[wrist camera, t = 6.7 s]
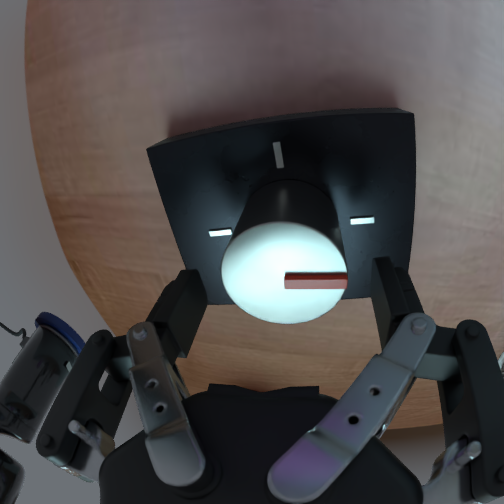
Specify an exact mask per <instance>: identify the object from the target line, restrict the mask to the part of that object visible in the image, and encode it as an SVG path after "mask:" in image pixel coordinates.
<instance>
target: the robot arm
mask: <svg viewBox="0 0 504 504" xmlns="http://www.w3.org/2000/svg"><path fill="white" fill-rule="evenodd" d="M371 299H372V304H373V308H374V313H375V317H376V322H377V327H378V332H379V337H380V343H381V348H382V352H381V353H380V354H379V355H378V354H375V355H374V356H373V357H372V359H371V360H370V361H369V363H368V364H367V365H366V367H365V368H364V369H363V371H362V372H361V373H360V375H359V376H358V377H357V378H356V380H355V381H354V382H353V383H352V385H351V386H350V387H349V388H348V390H347V391H346V392H345V393H344V395H343V396H342V397H341V398H340V399H339V400H337V399H335V398H333V397H330V396H327V395H323V394H319V386H304V387H287V388H282V389H278V390H273V391H268V392H257V391H253V390H249V389H246V388H242V387H239V386H236V385H223V384H209V387H208V390H207V391H204V392H200V393H197V394H194V395H192V396H191V395H190V393H189V391H188V389H187V387H186V385H185V382H184V380H183V378H182V375H181V373H180V371H179V369H178V366H177V364H176V363H175V361H176V359H177V357H180V358H187V355H188V353H189V350H190V348H191V345H192V343H193V340H194V337H195V335H196V332H197V330H198V327H199V325H200V322H201V320H202V317H203V315H204V312H205V310H206V307H207V303H208V298H207V293H206V290H205V287H204V285H203V282H202V279H201V276H200V273H199V271H198V270H197V269H189V270H181V271H180V273H179V274H178V276H177V278H176V280H173V281H171V282H170V283H169V284H168V285H167V286H166V287H165V288H164V290H163V292H162V293H161V296H160V297H159V298H158V300H157V302H156V303H155V305H154V307H153V309H152V310H151V312H150V314H149V316H148V317H147V319H146V321H145V322H140V323H137V324H135V325H134V326H132V327H131V328H130V329H129V331H128V332H127V335H123V336H118V337H113V336H112V334H111V333H110V332H109V331H108V330H99V331H97V332H95V333H94V334H93V335H91V336H90V338H89V339H88V341H87V342H86V344H85V346H84V348H83V349H82V351H81V353H80V354H79V353H78V351H77V349H76V348H75V346H74V345H73V344H72V343H71V342H70V341H69V340H68V339H67V338H66V337H65V336H64V335H63V334H62V333H61V332H59V331H58V330H57V329H55V328H54V327H52V326H50V325H48V324H44V323H42V324H40V325H39V327H38V328H37V329H36V330H35V332H34V333H33V334H32V336H31V337H30V338H29V337H26V331H25V329H24V328H22V329H21V330H20V331H19V332H18V333H16V332H13V331H12V330H10V329H9V328H7V327H6V326H5V325H3V324H2V323H1V322H0V326H1V327H2V328H4V329H5V330H6V331H8V332H9V333H11V334H12V335H15V336H20V335H21V334H22V333H23V337H22V338H23V340H22V342H21V343H20V345H21V347H22V349H21V351H20V352H19V354H18V355H17V357H16V358H15V359H14V361H13V362H12V365H11V367H10V368H9V370H8V372H7V373H6V374H5V376H4V377H3V379H2V381H1V382H0V435H2V436H7V437H10V438H13V439H16V440H18V441H20V442H23V443H26V444H30V443H31V442H32V441H33V439H34V437H35V435H36V433H37V431H38V429H39V427H40V425H41V424H42V422H43V419H44V418H45V416H46V414H47V412H48V410H49V409H50V406H51V405H52V403H53V401H54V399H55V398H56V399H55V401H54V403H53V405H52V407H51V409H50V411H49V413H48V415H47V417H46V419H45V421H44V423H43V426H42V428H41V430H40V432H39V434H38V437H37V440H36V448H37V451H38V453H39V454H40V455H41V456H43V457H45V458H46V459H47V460H49V461H51V462H52V463H53V464H55V465H56V466H58V467H59V468H61V469H62V470H64V471H66V472H68V473H69V474H71V475H73V476H76V477H78V478H80V479H82V480H84V481H86V482H97V483H99V486H100V504H486V503H488V502H490V501H493V500H495V499H497V498H500V497H502V496H504V379H503V376H502V372H501V369H500V366H499V363H498V360H497V357H496V354H495V352H494V349H493V346H492V343H491V341H490V338H489V336H488V333H487V331H486V329H485V327H484V326H483V325H482V324H481V323H479V322H478V321H475V320H464V321H462V322H460V323H459V324H458V326H457V328H456V329H454V328H447V327H441V326H437V325H436V324H435V322H434V320H433V319H432V318H431V317H430V316H428V315H426V314H425V313H424V311H423V308H422V305H421V303H420V300H419V298H418V295H417V293H416V290H415V288H414V285H413V283H412V281H411V278H410V276H409V274H408V273H407V272H406V271H405V270H404V269H403V268H402V267H394V266H393V264H392V261H391V259H390V257H389V256H387V257H375V258H373V260H372V273H371ZM104 371H106V372H107V373H108V374H109V375H108V377H107V379H106V381H105V383H104V385H103V387H102V390H101V392H100V390H99V381H100V379H101V377H102V374H103V373H104ZM417 378H423V379H430V380H437V384H438V390H439V396H440V403H441V410H442V417H443V426H444V434H445V447H446V450H445V451H444V452H443V453H442V454H440V455H439V456H438V457H437V458H436V460H435V462H434V464H433V467H432V474H431V477H430V479H429V481H428V482H427V483H426V484H425V485H423V486H421V484H420V482H419V480H418V479H417V477H416V476H415V475H414V474H413V473H412V472H411V471H410V470H409V469H408V468H407V467H406V466H405V465H404V464H403V463H402V462H401V461H400V460H399V459H398V458H397V457H396V456H395V455H394V454H393V453H392V452H391V451H390V450H389V449H388V448H387V447H386V446H385V445H384V444H383V443H382V442H381V441H380V440H379V438H380V437H381V436H382V434H383V433H384V431H385V430H386V429H387V427H388V426H389V424H390V422H391V421H392V419H393V418H394V416H395V414H396V412H397V411H398V409H399V408H400V406H401V404H402V403H403V401H404V399H405V398H406V396H407V394H408V393H409V391H410V389H411V388H412V386H413V384H414V382H415V381H416V379H417ZM132 389H133V392H134V396H135V399H136V403H137V407H138V410H139V414H140V417H141V421H142V424H143V427H144V430H142V431H141V432H139V433H138V434H136V435H135V436H134V437H132V438H131V439H129V440H128V441H126V442H125V443H124V444H122V445H121V446H119V447H118V448H116V449H115V442H114V440H113V439H114V436H115V433H116V431H117V428H118V426H119V423H120V420H121V418H122V415H123V412H124V410H125V407H126V405H127V402H128V399H129V397H130V394H131V392H132ZM58 392H59V393H58ZM57 394H58V395H57ZM56 396H57V397H56ZM24 479H25V470H24V467H23V466H22V465H21V464H20V463H19V462H18V461H17V460H16V459H14V458H13V457H12V456H10V455H9V454H8V453H7V452H5V451H4V450H3V449H1V448H0V504H15V502H16V500H17V498H18V495H19V493H20V491H21V489H22V486H23V483H24Z"/></svg>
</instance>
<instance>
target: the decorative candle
mask: <svg viewBox="0 0 504 504" xmlns="http://www.w3.org/2000/svg"><path fill="white" fill-rule="evenodd" d="M498 363H499V366H500V369H501V372H502V376H503V379H504V352H503V353H502V354H501V356H500V358H499V360H498Z"/></svg>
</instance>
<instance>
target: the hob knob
mask: <svg viewBox="0 0 504 504" xmlns="http://www.w3.org/2000/svg"><path fill="white" fill-rule="evenodd" d="M220 273H221V279H222V282H223V286H224V288H225V290H226V292H227V293H228V295H229V297H230V298H231V299H232V300H233V301H234V303H235V304H237V305H238V306H239V307H240V308H241V309H242V310H244V311H245V312H247V313H249V314H250V315H252V316H254V317H256V318H259V319H262V320H264V321H268V322H272V323H279V324H296V323H303V322H307V321H310V320H313V319H316V318H318V317H320V316H322V315H324V314H325V313H327V312H328V311H330V310H331V309H332V308H333V307H334V306H335V305H336V304H337V303H338V302H339V300H340V299H341V297H342V296H343V294H344V292H345V289H347V283H348V268H347V262H346V256H345V251H344V245H343V240H342V235H341V230H340V225H339V220H338V216H337V212H336V209H335V207H334V205H333V203H332V202H331V201H330V199H329V198H328V197H327V196H326V195H325V194H324V193H323V192H322V191H321V190H319V189H318V188H316V187H314V186H313V185H310V184H308V183H305V182H301V181H296V180H281V181H276V182H272V183H270V184H267V185H265V186H263V187H261V188H260V189H259V190H257V191H256V192H255V193H254V194H253V195H252V196H251V197H250V199H249V200H248V201H247V203H246V205H245V207H244V209H243V211H242V214H241V216H240V218H239V220H238V222H237V225H236V227H235V229H234V231H233V234H232V236H231V238H230V240H229V243H228V245H227V247H226V249H225V251H224V254H223V257H222V260H221V267H220Z"/></svg>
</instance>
